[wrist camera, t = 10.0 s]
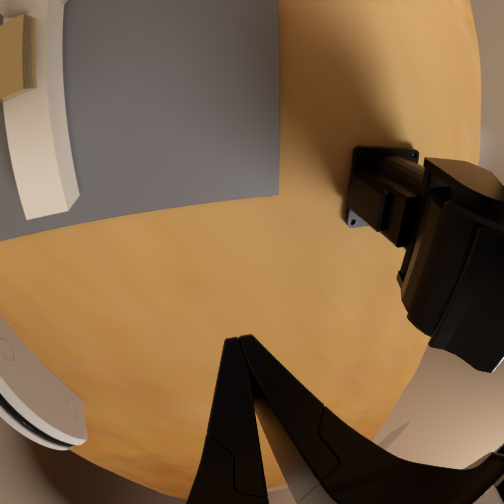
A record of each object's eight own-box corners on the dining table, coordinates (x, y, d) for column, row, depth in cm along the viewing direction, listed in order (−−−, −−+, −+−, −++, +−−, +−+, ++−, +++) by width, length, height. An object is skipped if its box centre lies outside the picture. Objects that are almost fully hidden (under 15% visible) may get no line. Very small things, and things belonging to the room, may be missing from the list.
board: (270, -82, 8) (273, -86, 8) (275, 191, 20) (278, 195, 19) (-22, -16, 4) (-26, -17, 4) (1, 237, 16) (-2, 241, 15)
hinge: (-33, 312, 17) (-52, 384, 10) (-6, 293, 19) (-24, 365, 12) (55, 404, 27) (68, 469, 19) (80, 391, 28) (99, 457, 21)
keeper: (61, 28, 10) (23, 13, 6) (62, 86, 12) (23, 89, 8) (-10, 60, 9) (-56, 62, 5) (-7, 114, 11) (-53, 129, 7)
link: (19, -21, 6) (-11, -36, 2) (80, -45, 7) (60, -71, 3) (33, 206, 15) (5, 237, 11) (89, 193, 15) (69, 223, 12)
